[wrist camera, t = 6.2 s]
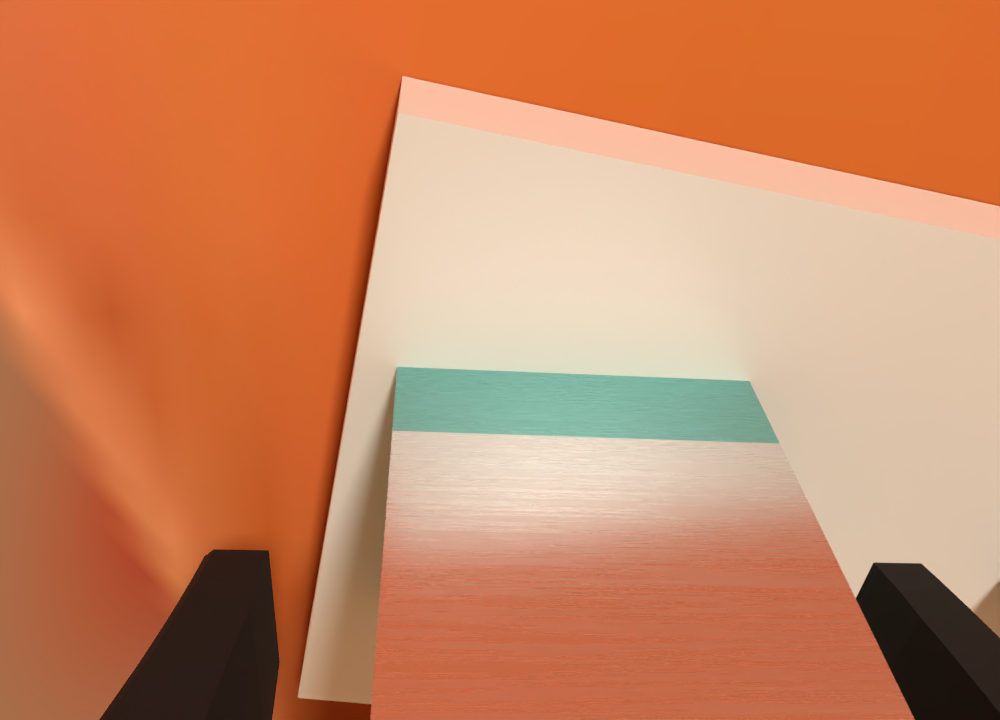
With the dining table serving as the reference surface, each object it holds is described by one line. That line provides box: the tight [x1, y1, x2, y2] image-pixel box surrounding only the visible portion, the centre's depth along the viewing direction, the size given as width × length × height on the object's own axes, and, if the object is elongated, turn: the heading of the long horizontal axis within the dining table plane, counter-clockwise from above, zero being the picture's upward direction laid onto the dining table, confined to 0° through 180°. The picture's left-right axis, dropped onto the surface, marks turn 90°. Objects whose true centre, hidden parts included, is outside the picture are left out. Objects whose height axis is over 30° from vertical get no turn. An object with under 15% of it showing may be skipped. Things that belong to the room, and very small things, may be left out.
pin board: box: [298, 76, 1000, 704], centre depth 12 cm, size 14×10×4 cm
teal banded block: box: [370, 367, 915, 720], centre depth 9 cm, size 4×4×6 cm
